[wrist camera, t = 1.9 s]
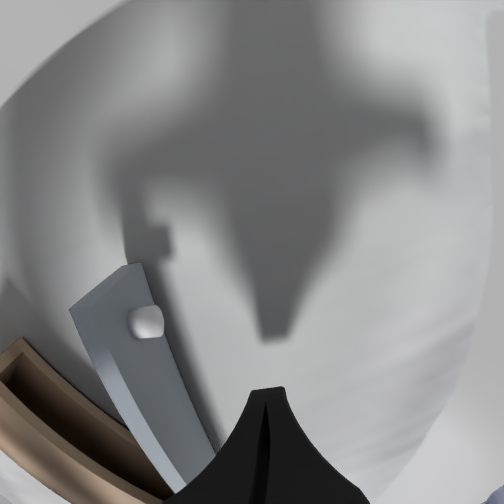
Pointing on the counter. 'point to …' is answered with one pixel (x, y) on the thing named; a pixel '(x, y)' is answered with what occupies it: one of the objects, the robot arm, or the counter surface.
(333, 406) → the counter surface
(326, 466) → the robot arm
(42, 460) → the cabinet
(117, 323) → the door
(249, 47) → the counter surface
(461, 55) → the counter surface
